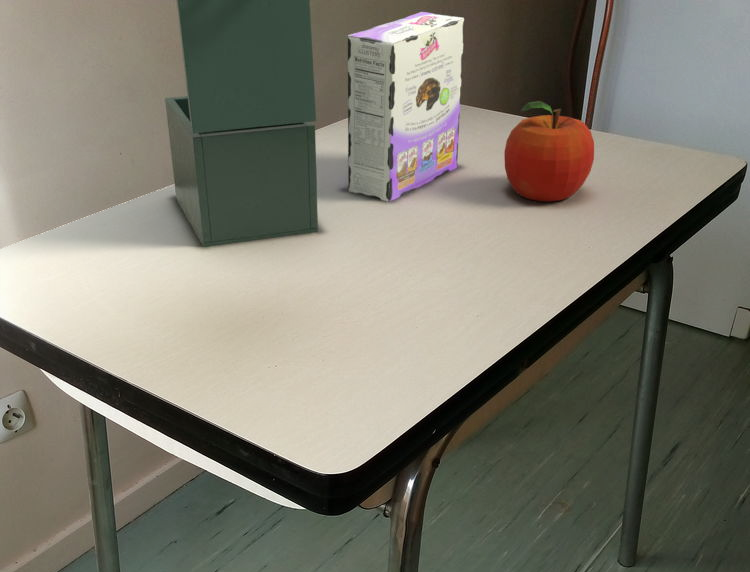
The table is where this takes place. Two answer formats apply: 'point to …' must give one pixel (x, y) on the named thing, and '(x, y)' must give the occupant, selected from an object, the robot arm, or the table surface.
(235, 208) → the bin
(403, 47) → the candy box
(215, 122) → the bin lid
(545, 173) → the fruit
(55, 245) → the table surface
